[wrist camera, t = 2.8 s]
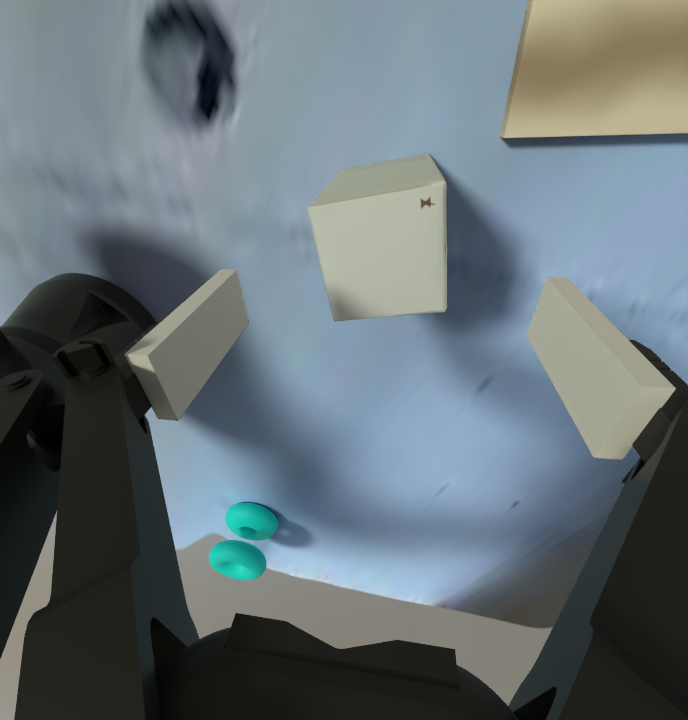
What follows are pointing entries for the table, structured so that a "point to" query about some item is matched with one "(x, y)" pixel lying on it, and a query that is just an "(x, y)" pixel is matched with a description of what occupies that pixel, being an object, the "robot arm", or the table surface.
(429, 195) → the supplement box
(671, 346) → the table surface
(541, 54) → the birch board
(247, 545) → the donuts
